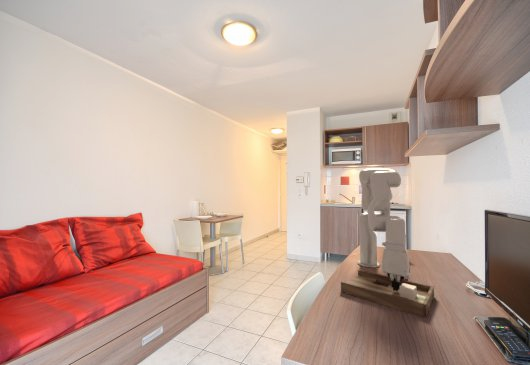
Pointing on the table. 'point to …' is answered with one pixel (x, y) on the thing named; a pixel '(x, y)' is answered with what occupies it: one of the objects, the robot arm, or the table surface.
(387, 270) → the robot arm
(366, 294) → the board
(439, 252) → the table surface
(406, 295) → the cream block
